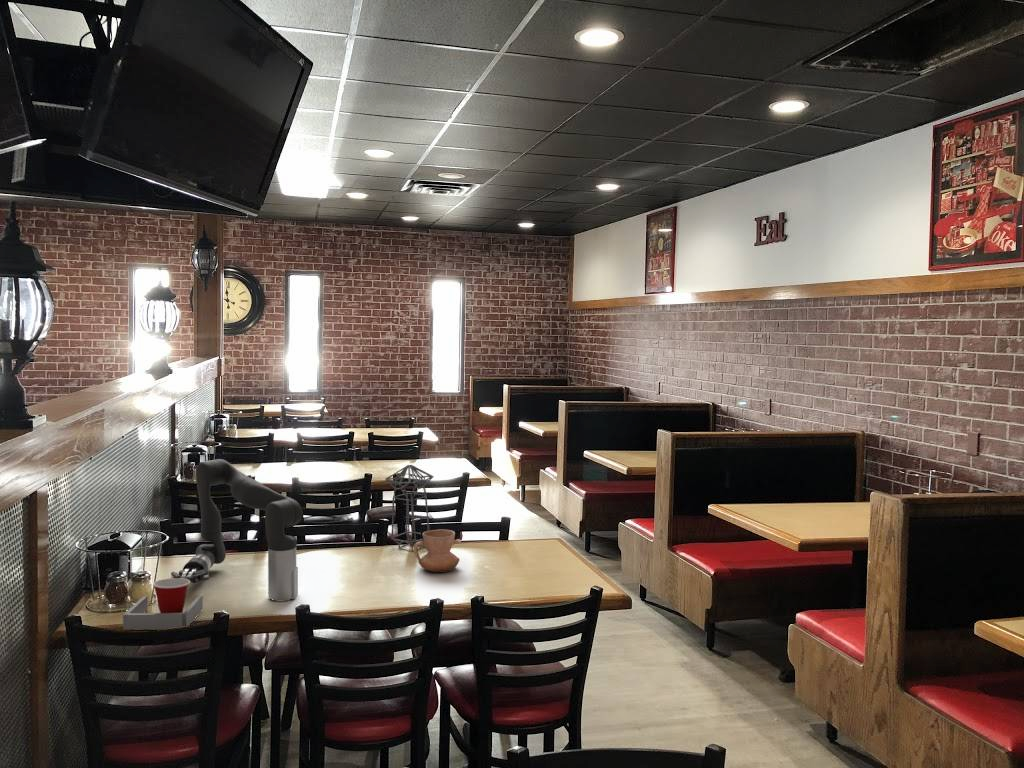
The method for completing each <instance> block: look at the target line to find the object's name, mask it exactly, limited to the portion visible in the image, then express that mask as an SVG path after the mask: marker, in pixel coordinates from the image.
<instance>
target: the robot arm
mask: <svg viewBox="0 0 1024 768" xmlns="http://www.w3.org/2000/svg"><path fill="white" fill-rule="evenodd" d="M195 478H196V479H195V480H196V486H197V494H198V499H199V500H198V501H199V507H200V517H201V518H200V538H202V539H203V540H204V541H207V542H210V543H212V544H210V543H209V544H208V543H203V544H200V545H198V546H197V547H196V550H195V555H194V556H193V557H192V558H191V559H190V560H188V562H186V563H185V565H183V568H182V569H181V570H179V571H178V572H175V571H171V572H170V575H171V577H170V578H183V579H188V580H190V584H196V583H200V582H202V581H203V582H204V581H207V580H209V571H210V569H211V568H212V567H213V566H214V565H220V564H222V563H223V562H224V561H225V559H226V556H227V555H226V554H227V552H226V546H225V543H224V541H223V535H222V515H221V512H220V510H219V509H218V507H217V506H216V504H215V502H214V500H213V498H212V496H211V487H212V486H216V485H227V486H229V487H230V493H231V496H232V497H233V499H234V500H235V501H236V502H238V503H240V504H242V505H243V506H244V507H247V508H250V509H254V510H259V511H265V512H264V524H265V538H266V543H267V570H268V571H267V572H268V574H267V581H268V585H267V587H268V588H267V591H268V592H267V595H268V597H269V598H270V599H273V600H288V601H291V600H290V599H295V600H296V598H297V596H298V594H299V575H298V574H299V571H298V570H299V567H298V566H297V539H296V538H295V537H294V536H292V535H286V534H285V528H289V527H293V526H295V525H297V524H299V523H300V522H301V521H302V519H303V517H304V512H303V509H302V506H301V505H300V503H299V502H298V501H297V500H296V499H294V498H291V497H289V496H286V495H284V494H281V493H279V492H277V491H275V490H274V489H273V490H272V489H271V488H270V487H268V486H265V485H264V484H263V483H261V482H259V481H257V480H256V479H254V478H252V477H250V476H248V475H246V474H245V473H243V472H241V470H238V469H237V468H236V467H235V466H234V465H233V464H231V463H230V462H228V461H227V460H226V459H223V458H217V459H211V460H205V461H202V462H200V463H198V464H197V466H196V468H195ZM268 597H267V598H268ZM269 598H268V599H269ZM270 599H269V600H270Z"/></svg>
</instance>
